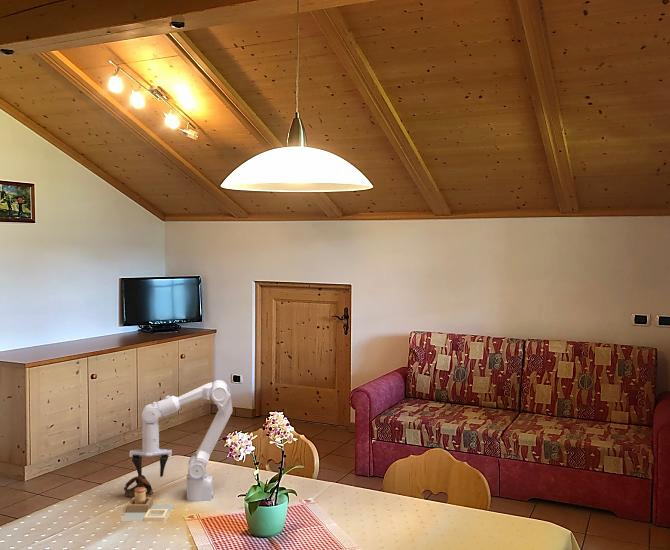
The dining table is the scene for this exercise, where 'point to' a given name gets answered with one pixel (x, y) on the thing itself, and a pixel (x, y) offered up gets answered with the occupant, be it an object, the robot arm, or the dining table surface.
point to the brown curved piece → (140, 483)
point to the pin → (140, 495)
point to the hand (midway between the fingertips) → (150, 475)
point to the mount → (147, 511)
